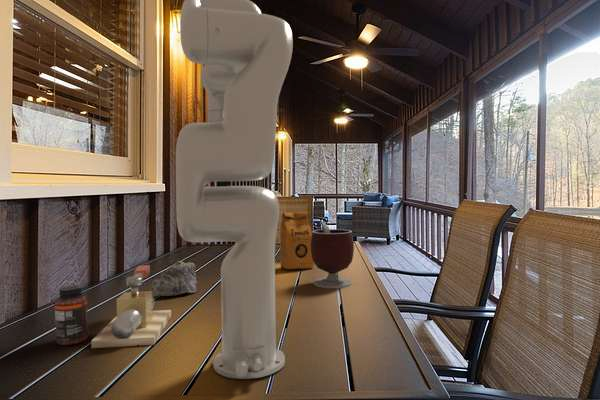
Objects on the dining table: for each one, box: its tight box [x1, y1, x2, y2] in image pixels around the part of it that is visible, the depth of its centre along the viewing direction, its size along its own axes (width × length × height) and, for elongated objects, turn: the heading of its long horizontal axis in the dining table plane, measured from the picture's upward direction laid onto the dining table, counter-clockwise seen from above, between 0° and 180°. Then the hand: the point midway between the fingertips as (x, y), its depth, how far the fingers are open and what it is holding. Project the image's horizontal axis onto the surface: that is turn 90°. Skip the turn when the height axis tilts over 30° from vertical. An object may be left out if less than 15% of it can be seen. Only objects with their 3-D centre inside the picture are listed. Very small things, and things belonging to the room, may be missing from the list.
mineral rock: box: [150, 260, 199, 297], centre depth 124 cm, size 13×11×10 cm
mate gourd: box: [311, 220, 355, 289], centre depth 136 cm, size 16×14×20 cm
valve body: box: [111, 286, 156, 339], centre depth 93 cm, size 19×6×8 cm, turn 7°
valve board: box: [90, 309, 172, 349], centre depth 93 cm, size 19×12×2 cm, turn 7°
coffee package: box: [279, 211, 315, 271], centre depth 161 cm, size 10×12×22 cm
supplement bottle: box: [54, 284, 89, 346], centre depth 87 cm, size 6×6×11 cm
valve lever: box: [126, 264, 151, 288], centre depth 99 cm, size 16×3×2 cm, turn 12°
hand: (223, 189), depth 110 cm, fingers closed
